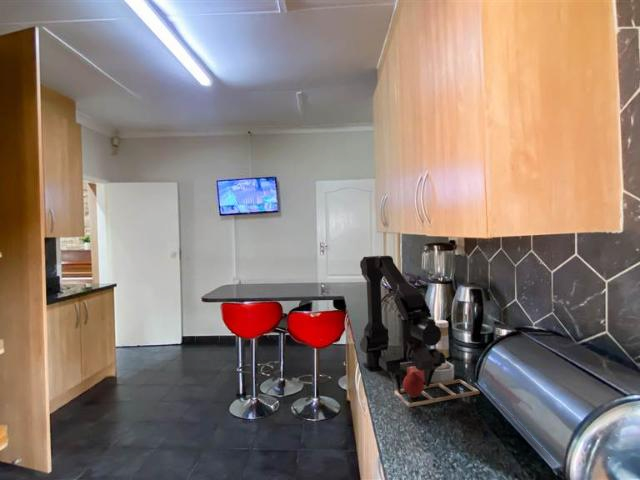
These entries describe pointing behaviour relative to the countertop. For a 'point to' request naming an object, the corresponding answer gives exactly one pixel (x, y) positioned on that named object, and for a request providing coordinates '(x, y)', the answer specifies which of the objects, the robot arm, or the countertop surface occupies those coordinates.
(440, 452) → the countertop surface
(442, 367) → the dome
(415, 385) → the onion
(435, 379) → the dome base
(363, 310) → the countertop surface
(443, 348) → the sprinkles bottle
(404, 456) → the countertop surface
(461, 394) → the wooden frame with crossbars
